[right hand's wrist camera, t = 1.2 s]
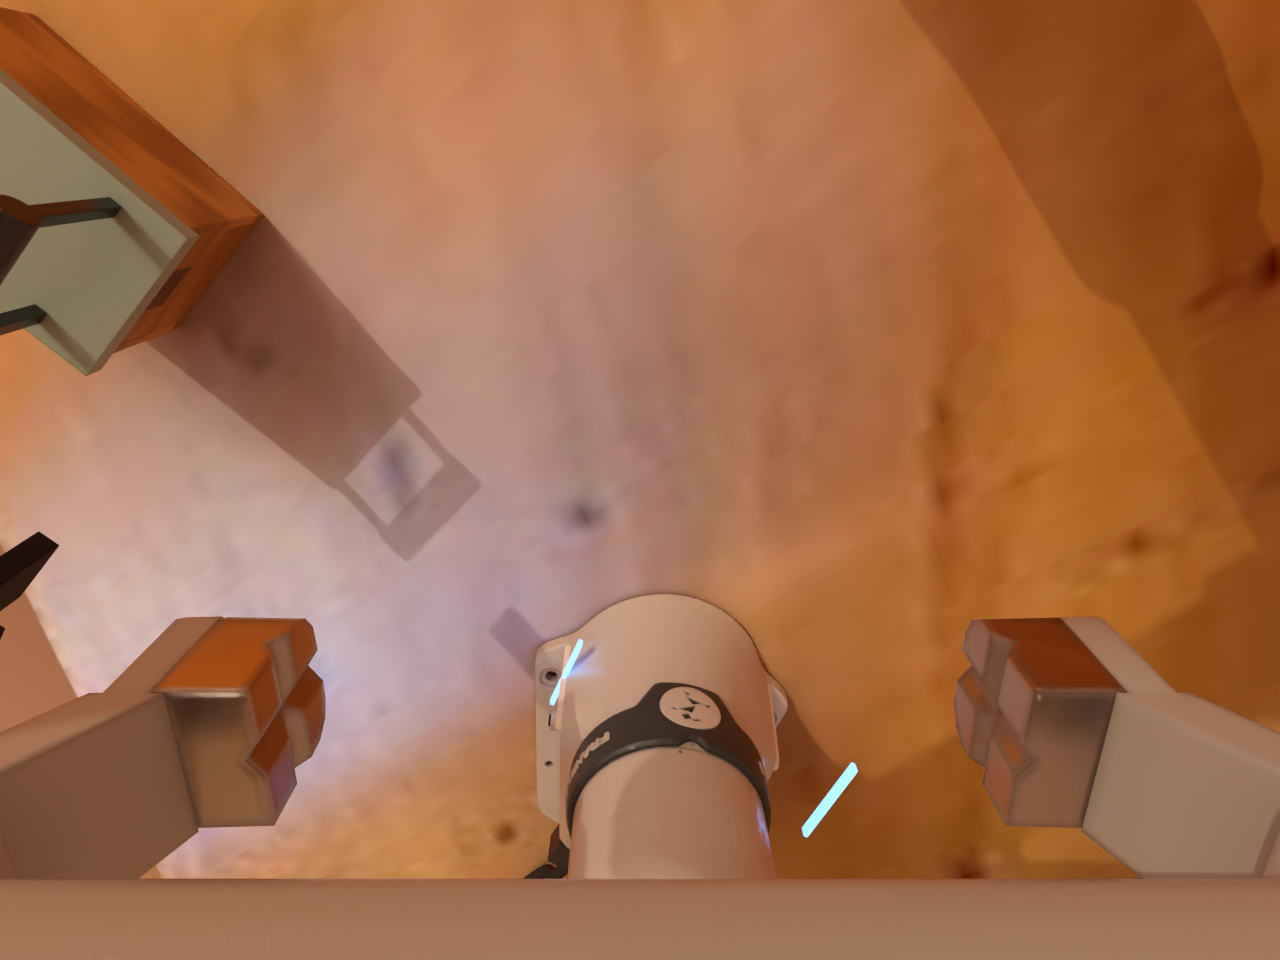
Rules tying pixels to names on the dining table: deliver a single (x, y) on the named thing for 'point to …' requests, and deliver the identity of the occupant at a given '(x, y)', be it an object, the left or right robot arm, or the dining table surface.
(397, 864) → the dining table surface
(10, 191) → the lid
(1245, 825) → the right robot arm
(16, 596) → the left robot arm
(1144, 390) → the dining table surface
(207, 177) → the chest
